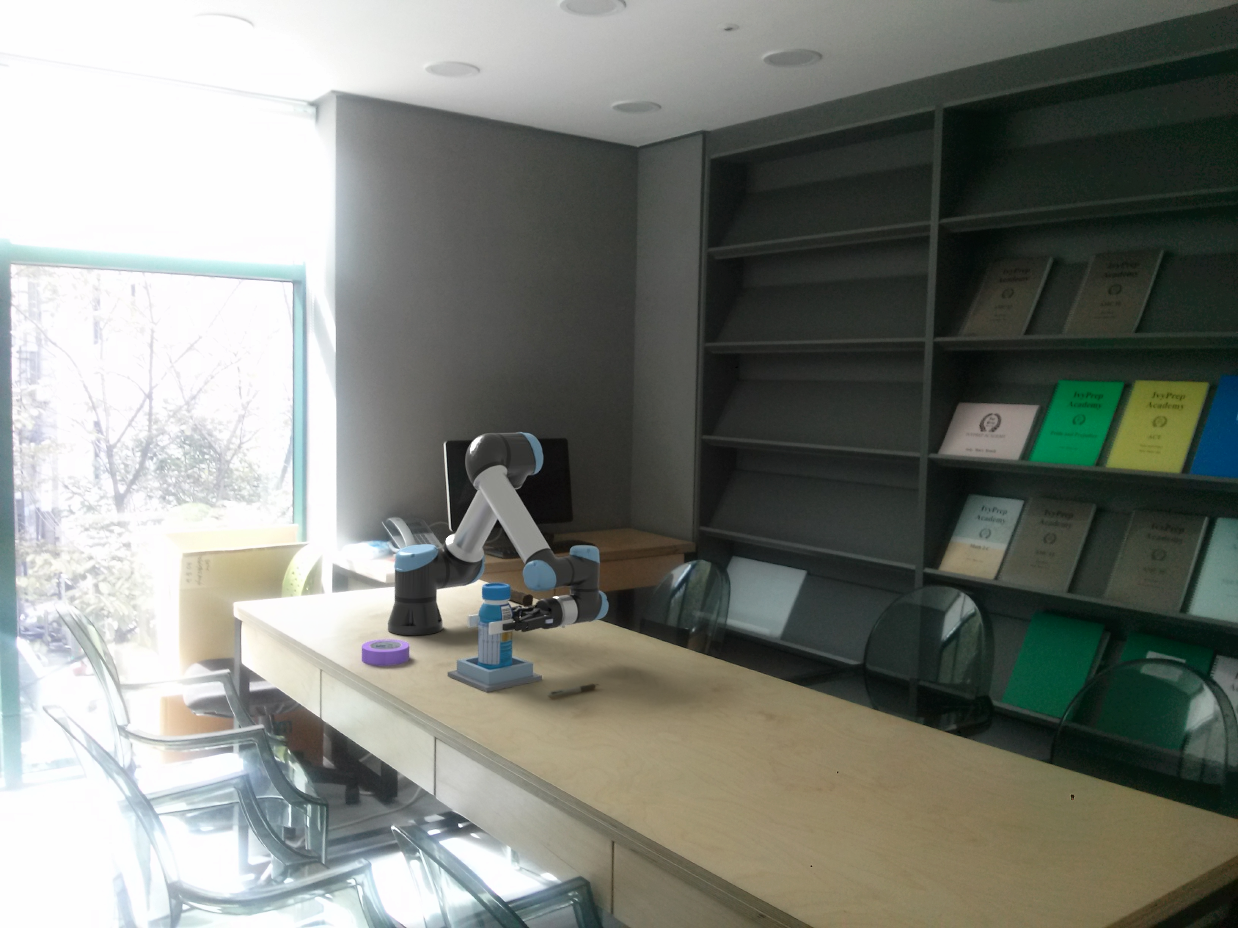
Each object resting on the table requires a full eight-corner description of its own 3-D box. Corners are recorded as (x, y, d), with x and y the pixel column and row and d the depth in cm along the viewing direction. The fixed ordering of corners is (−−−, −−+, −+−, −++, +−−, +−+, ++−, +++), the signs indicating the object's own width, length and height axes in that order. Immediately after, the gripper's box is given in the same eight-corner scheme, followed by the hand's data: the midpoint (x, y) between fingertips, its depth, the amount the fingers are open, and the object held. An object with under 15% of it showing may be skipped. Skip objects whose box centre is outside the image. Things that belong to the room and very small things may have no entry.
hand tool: (533, 606, 321) (534, 591, 321) (523, 607, 319) (523, 592, 319) (503, 595, 337) (503, 581, 336) (492, 596, 334) (493, 582, 334)
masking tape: (416, 662, 253) (416, 647, 253) (370, 668, 247) (370, 653, 247) (399, 651, 263) (399, 637, 263) (355, 657, 257) (355, 642, 257)
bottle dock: (447, 675, 242) (447, 659, 241) (502, 664, 253) (502, 649, 252) (486, 692, 230) (486, 674, 230) (542, 679, 241) (542, 663, 241)
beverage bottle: (478, 673, 236) (479, 589, 235) (475, 663, 244) (477, 581, 243) (514, 672, 238) (516, 588, 236) (511, 662, 246) (512, 581, 245)
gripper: (581, 635, 245) (505, 650, 230) (528, 619, 260) (453, 632, 245) (582, 604, 245) (505, 617, 229) (529, 590, 260) (454, 601, 244)
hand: (479, 625), depth 237 cm, fingers open, 8 cm apart
